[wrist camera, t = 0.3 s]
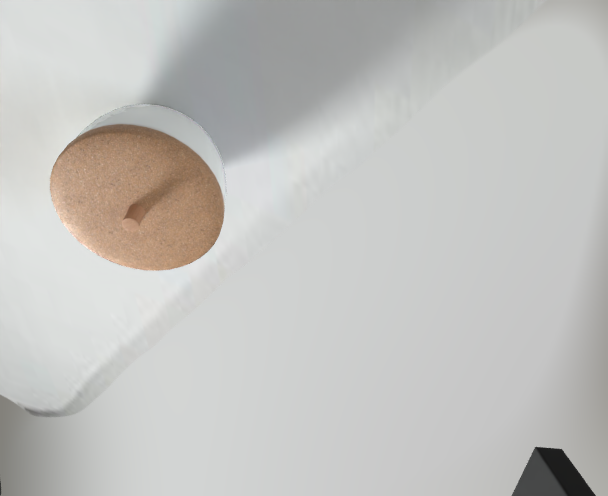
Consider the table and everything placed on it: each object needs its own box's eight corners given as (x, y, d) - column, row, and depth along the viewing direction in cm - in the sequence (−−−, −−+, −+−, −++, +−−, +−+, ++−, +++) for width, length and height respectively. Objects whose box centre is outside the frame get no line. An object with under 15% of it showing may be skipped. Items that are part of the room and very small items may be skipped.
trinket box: (60, 125, 36) (-3, 197, 29) (175, 50, 32) (136, 110, 25) (157, 227, 42) (125, 308, 35) (263, 173, 38) (252, 250, 31)
